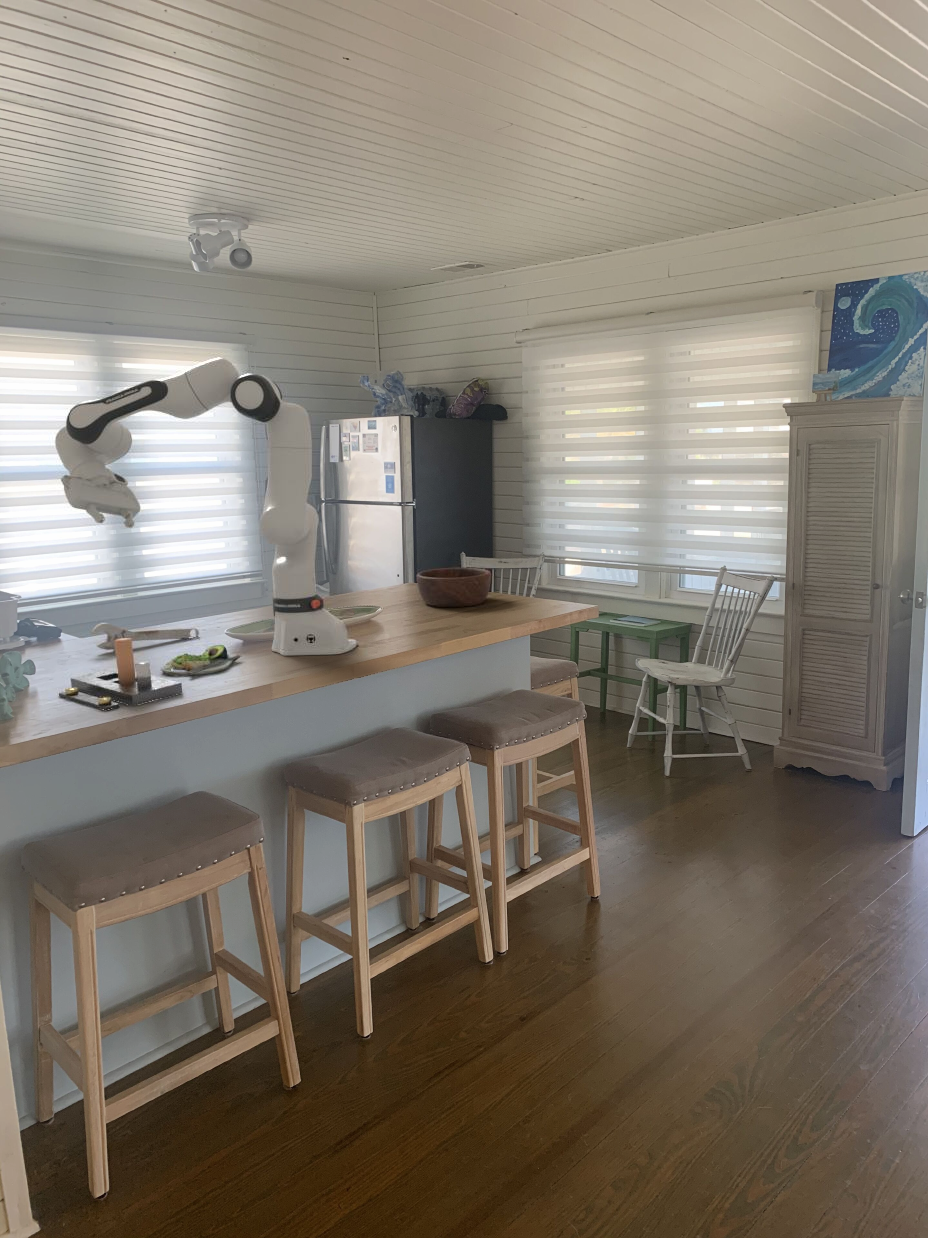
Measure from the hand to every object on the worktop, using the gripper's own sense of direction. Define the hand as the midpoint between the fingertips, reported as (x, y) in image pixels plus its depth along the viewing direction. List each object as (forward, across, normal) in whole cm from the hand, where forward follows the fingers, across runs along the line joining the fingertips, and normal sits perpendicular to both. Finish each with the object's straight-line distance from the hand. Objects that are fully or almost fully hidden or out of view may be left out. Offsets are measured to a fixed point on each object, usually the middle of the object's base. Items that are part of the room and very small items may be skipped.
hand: (116, 523), depth 223 cm
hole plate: (+43, -15, +11) cm, 46 cm away
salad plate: (+40, +11, +7) cm, 42 cm away
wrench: (+16, +26, +29) cm, 42 cm away
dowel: (+43, -13, +9) cm, 46 cm away
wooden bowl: (+37, +108, -24) cm, 117 cm away
